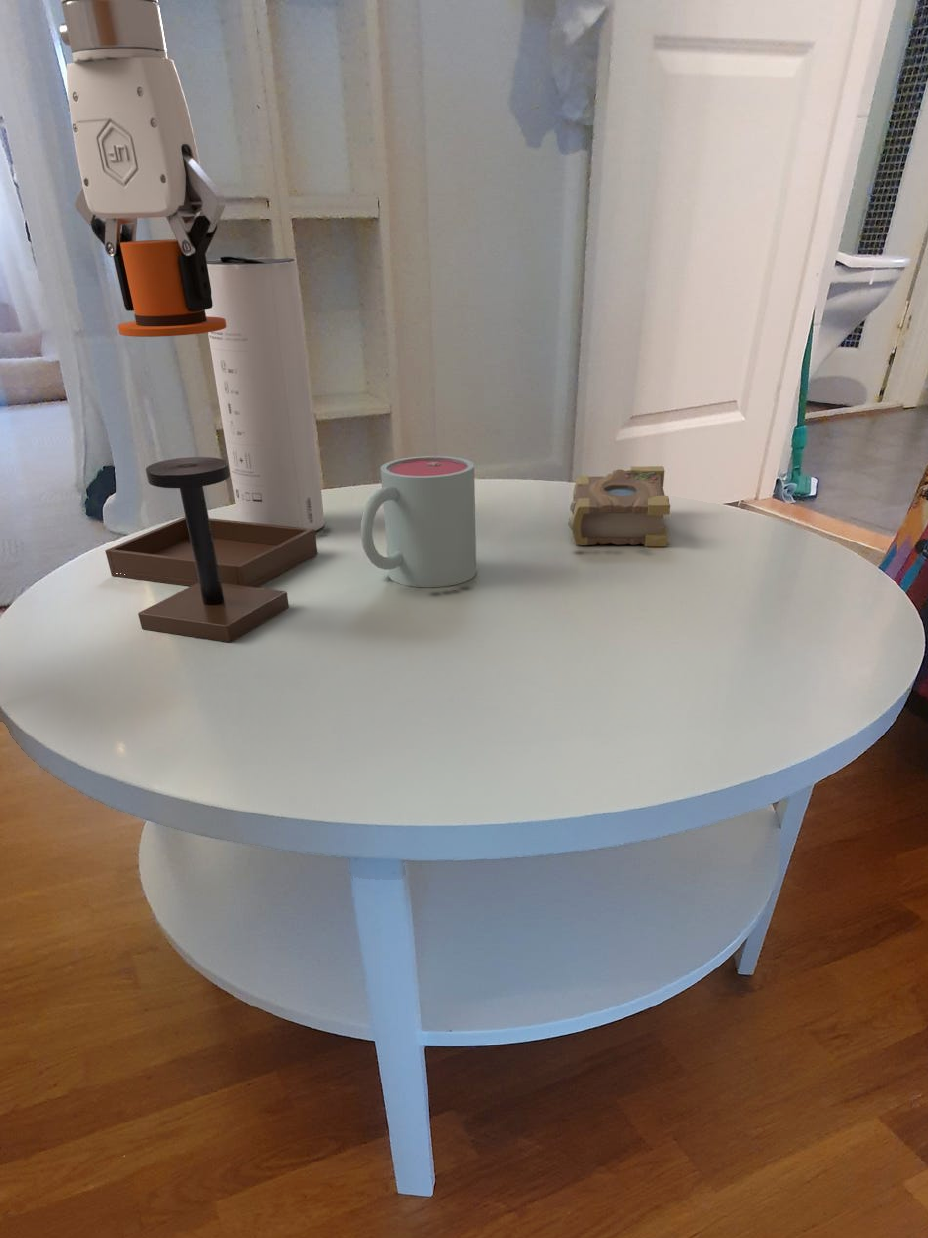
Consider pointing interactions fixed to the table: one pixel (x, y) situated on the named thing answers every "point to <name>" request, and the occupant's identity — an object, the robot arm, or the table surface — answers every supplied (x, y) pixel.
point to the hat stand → (206, 566)
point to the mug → (425, 521)
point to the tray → (239, 551)
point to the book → (620, 508)
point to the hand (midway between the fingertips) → (168, 307)
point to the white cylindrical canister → (265, 391)
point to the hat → (160, 292)
